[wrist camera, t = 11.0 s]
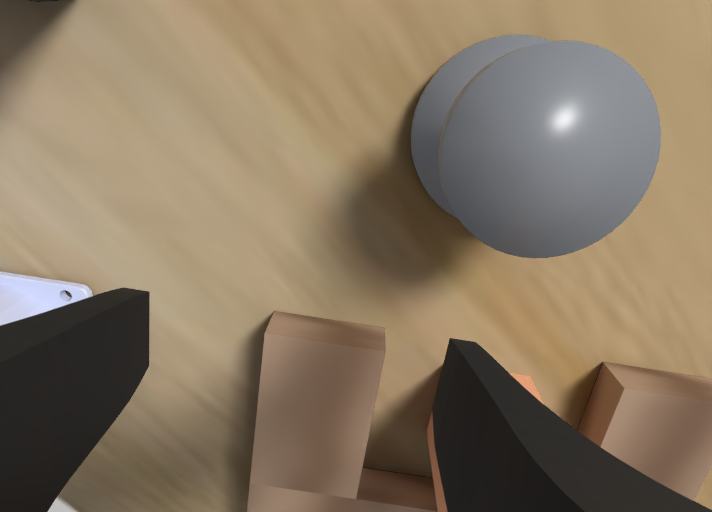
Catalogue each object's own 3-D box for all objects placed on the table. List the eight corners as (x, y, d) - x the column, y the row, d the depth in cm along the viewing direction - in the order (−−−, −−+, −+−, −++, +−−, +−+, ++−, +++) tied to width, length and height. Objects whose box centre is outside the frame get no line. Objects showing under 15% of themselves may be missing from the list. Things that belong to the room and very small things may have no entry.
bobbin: (395, 208, 20) (402, 254, 15) (430, 22, 18) (453, -2, 12) (563, 235, 20) (628, 289, 15) (620, 53, 18) (722, 43, 12)
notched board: (253, 511, 26) (243, 545, 24) (274, 311, 22) (264, 333, 20) (621, 566, 26) (640, 603, 24) (711, 378, 22) (742, 406, 20)
